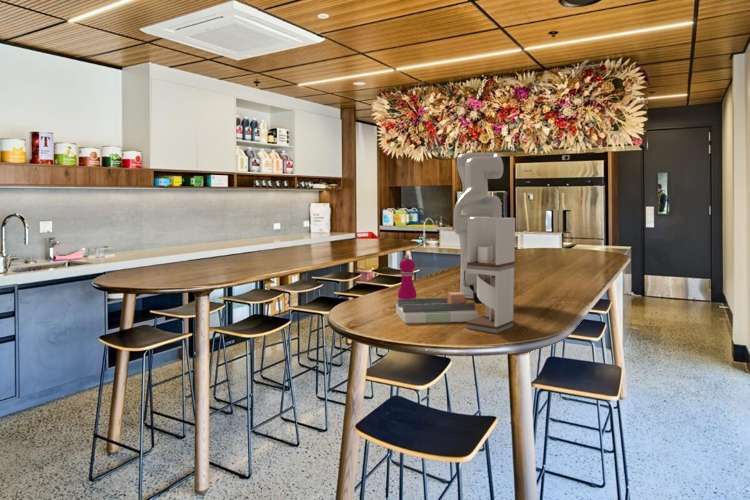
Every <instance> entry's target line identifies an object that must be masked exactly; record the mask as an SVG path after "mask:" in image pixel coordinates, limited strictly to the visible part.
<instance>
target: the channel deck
mask: <svg viewBox="0 0 750 500" xmlns="http://www.w3.org/2000/svg"><path fill="white" fill-rule="evenodd" d="M395 312H396V314H397V315H398V317H399V318H400V319H401V320H402V322H403V323H404V324H428V323H429V324H430V323H431V324H432V323H453V322H454V323H455V322H456V323H458V322H459V323H462V322H467V321H470V320H473V319H476V318H479V312H478V310H476V309H475V310H468V311H435V312H403V306H398V303H396V304H395Z"/></svg>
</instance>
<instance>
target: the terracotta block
mask: <svg viewBox="0 0 750 500" xmlns="http://www.w3.org/2000/svg"><path fill="white" fill-rule="evenodd" d="M447 298H448V299H447V303H465V294H464V293H462V292H460V291H454V292H453V291H449V292H447Z"/></svg>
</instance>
